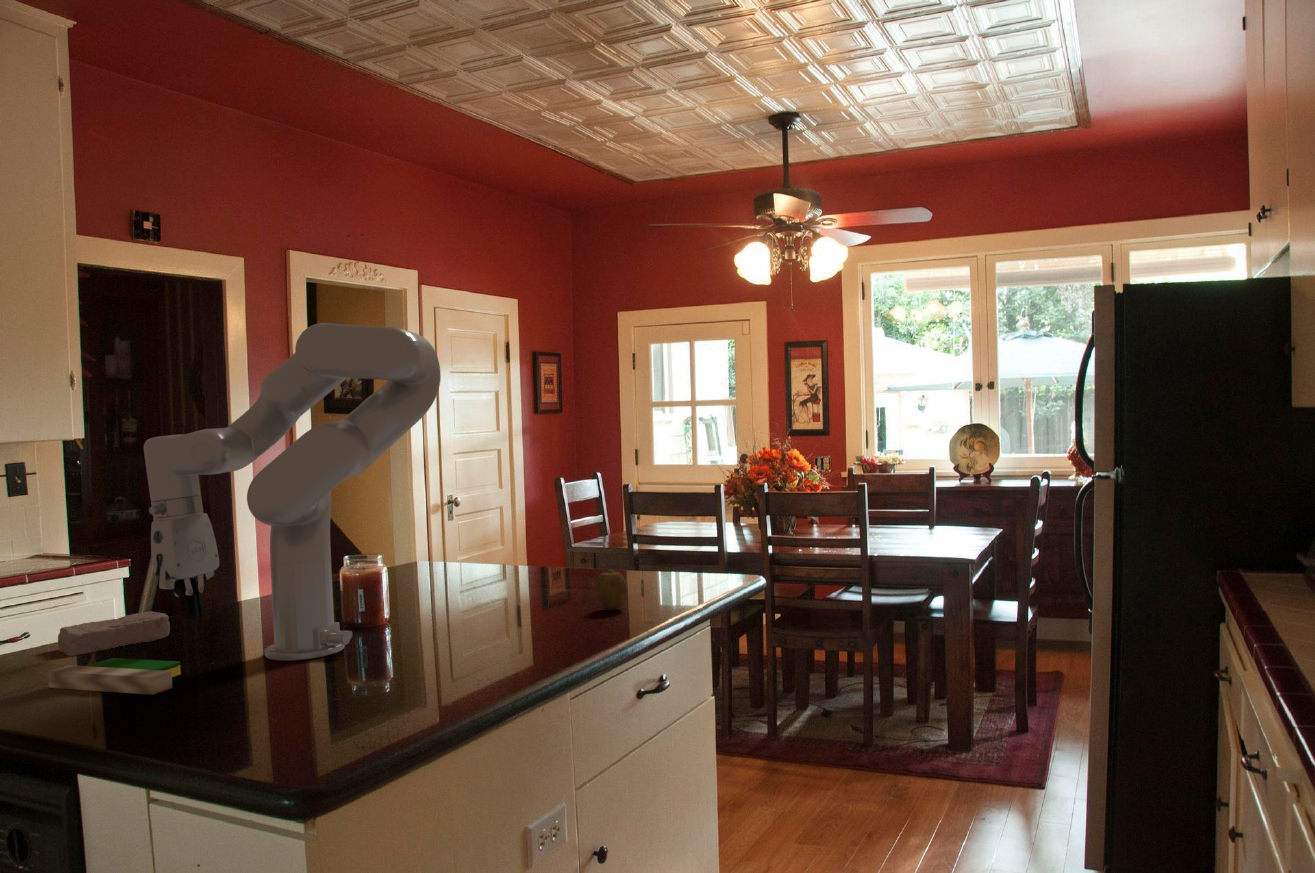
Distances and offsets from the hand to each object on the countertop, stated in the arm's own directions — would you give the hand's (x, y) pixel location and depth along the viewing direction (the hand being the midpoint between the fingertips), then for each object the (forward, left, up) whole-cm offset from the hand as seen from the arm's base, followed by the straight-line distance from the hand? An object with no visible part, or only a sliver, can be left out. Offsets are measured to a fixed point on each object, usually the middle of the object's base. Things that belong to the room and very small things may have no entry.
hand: (192, 617), depth 162 cm
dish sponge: (+1, +12, -7) cm, 14 cm away
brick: (+24, -6, -7) cm, 26 cm away
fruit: (-57, -45, -7) cm, 73 cm away
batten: (-1, +18, -7) cm, 19 cm away
